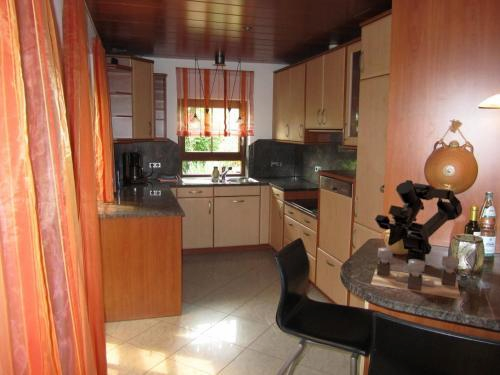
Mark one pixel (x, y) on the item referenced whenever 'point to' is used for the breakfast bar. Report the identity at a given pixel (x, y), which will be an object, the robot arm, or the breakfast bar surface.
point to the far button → (416, 267)
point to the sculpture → (397, 247)
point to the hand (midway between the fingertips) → (389, 244)
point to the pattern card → (424, 281)
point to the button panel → (417, 282)
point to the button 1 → (385, 255)
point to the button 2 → (450, 264)
